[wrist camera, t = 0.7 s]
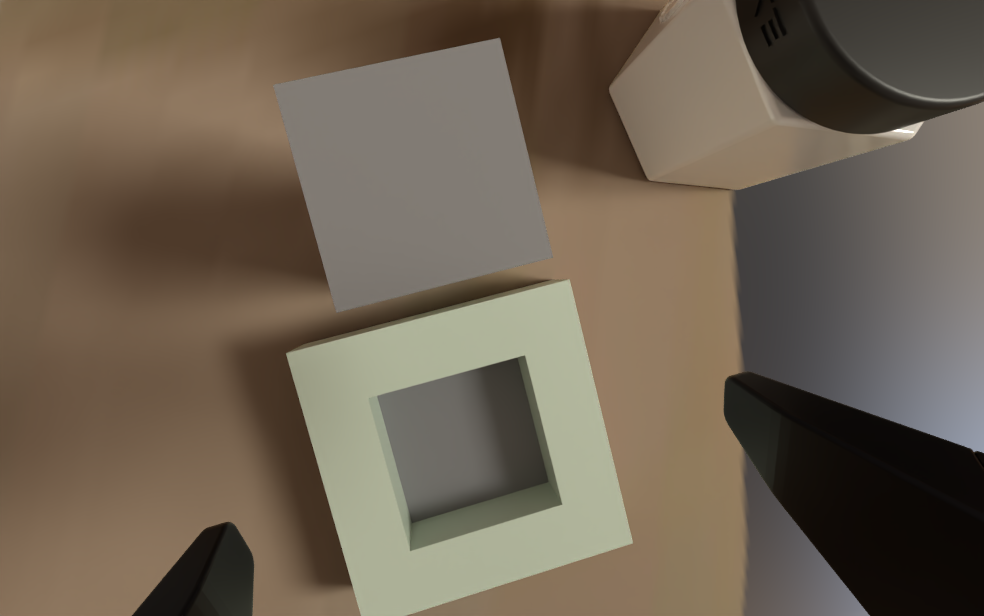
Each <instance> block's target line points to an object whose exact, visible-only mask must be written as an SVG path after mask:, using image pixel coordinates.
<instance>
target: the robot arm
mask: <svg viewBox="0 0 984 616" xmlns="http://www.w3.org/2000/svg"><path fill="white" fill-rule="evenodd" d="M724 416H725V419H726V421H727V423H728V425H729V427H730V428H731V430H732V431H733V433H734V434H735V436H736V438H737V439H738V441H739V442H740V444H741V445H742V447H743V448H744V450H745V452H746V453H747V455H748V456H749V458H750V459H751V461H752V462H753V464H754V466H755V467H756V469H757V470H758V472H759V473H760V475H761V477H762V478H763V480H764V481H765V483H766V484H767V486H768V487H769V488H770V490H771V492H772V493H773V494H774V496H775V497H776V498H777V499H778V501H779V502H780V503H781V504H782V506H783V507H784V509H785V510H786V511H787V512H788V514H789V515H790V516H791V517H792V519H793V520H794V521H795V522H796V523H797V525H798V526H799V527H800V529H801V530H802V531H803V532H804V534H805V535H806V536H807V537H808V539H809V540H810V541H811V542H812V544H813V545H814V546H815V547H816V549H817V550H818V551H819V552H820V554H821V555H822V556H823V557H824V559H825V560H826V561H827V562H828V564H829V565H830V566H831V567H832V569H833V570H834V571H835V572H836V574H837V575H838V576H839V577H840V579H841V580H842V581H843V582H844V584H845V585H846V586H847V587H848V588H849V590H850V591H851V592H852V594H853V595H854V596H855V598H856V599H857V600H858V601H859V603H860V604H861V605H862V606H863V608H864V609H865V610H866V611H867V612H868V614H869V615H870V616H984V453H982V452H979V451H976V452H973V450H972V449H970V448H967V447H964V446H961V445H958V444H955V443H953V442H950V441H947V440H944V439H941V438H939V437H936V436H933V435H930V434H927V433H924V432H921V431H919V430H916V429H913V428H910V427H907V426H904V425H901V424H898V423H896V422H893V421H890V420H887V419H884V418H881V417H879V416H876V415H873V414H870V413H867V412H864V411H861V410H858V409H856V408H853V407H850V406H847V405H844V404H841V403H838V402H836V401H833V400H829V399H827V398H824V397H821V396H818V395H815V394H813V393H810V392H807V391H804V390H801V389H798V388H795V387H793V386H789V385H787V384H784V383H781V382H778V381H775V380H773V379H770V378H767V377H764V376H761V375H758V374H755V373H752V372H742V373H739V374H735V375H732V376H729V377H728V378H727V379H726V381H725V389H724ZM253 581H254V560H253V556H252V553H251V551H250V549H249V547H248V546H247V544H246V542H245V541H244V539H243V537H242V536H241V534H240V532H239V531H238V529H237V528H236V526H235V525H234V524H233V523H231V522H225V523H221V524H218V525H215V526H211V527H208V528H206V529H205V530H203V531H202V532H201V533H200V535H199V536H198V537H197V538H196V539H195V541H194V542H193V543H192V544H191V545H190V547H189V548H188V549H187V550H186V551H185V553H184V554H183V555H182V556H181V557H180V559H179V560H178V561H177V562H176V563H175V565H174V566H173V567H172V568H171V569H170V571H169V572H168V573H167V574H166V575H165V577H164V578H163V579H162V580H161V581H160V583H159V584H158V585H157V586H156V587H155V589H154V590H153V591H152V592H151V593H150V595H149V596H148V597H147V598H146V599H145V601H144V602H143V603H142V604H141V605H140V607H139V608H138V609H137V610H136V611H135V613H134V614H133V615H132V616H252V611H253Z"/></svg>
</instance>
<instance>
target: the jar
mask: <svg viewBox="0 0 984 616" xmlns="http://www.w3.org/2000/svg"><path fill="white" fill-rule="evenodd" d="M609 93H610V95H611V97H612V100H613V102H614V104H615V106H616V109H617V111H618V113H619V116H620V118H621V120H622V122H623V125H624V127H625V129H626V131H627V134H628V136H629V138H630V141H631V143H632V145H633V147H634V150H635V152H636V154H637V157H638V159H639V161H640V163H641V166H642V168H643V170H644V173H645V175H646V177H647V179H648V180H650V181H656V182H666V183H676V184H686V185H695V186H705V187H715V188H724V189H734V190H739V189H743V188H746V187H749V186H753V185H756V184H760V183H763V182H767V181H770V180H773V179H776V178H780V177H784V176H787V175H790V174H794V173H797V172H800V171H804V170H808V169H811V168H814V167H818V166H821V165H825V164H828V163H831V162H835V161H838V160H842V159H845V158H849V157H852V156H855V155H858V154H862V153H865V152H869V151H873V150H876V149H879V148H883V147H886V146H890V145H893V144H897V143H900V142H903V141H907V140H909V139H911V138H912V137H914V135H915V134H916V133H917V131H918V130H919V128H920V127H921V125H922V123H923V122H924V121H926V120H929V119H932V118H935V117H938V116H941V115H944V114H948V113H951V112H954V111H957V110H960V109H963V108H966V107H969V106H972V105H976V104H979V103H981V102H983V101H984V0H669V1H668V2H667V4H666V5H665V6H664V7H663V8H662V9H661V11H660V12H659V14H658V15H657V17H656V18H655V20H654V21H653V23H652V24H651V26H650V27H649V29H648V30H647V32H646V33H645V35H644V36H643V37H642V39H641V40H640V42H639V43H638V45H637V46H636V48H635V49H634V51H633V52H632V54H631V55H630V57H629V58H628V60H627V61H626V63H625V64H624V66H623V67H622V69H621V70H620V72H619V73H618V74H617V76H616V77H615V79H614V80H613V82H612V83H611V85H610V87H609Z"/></svg>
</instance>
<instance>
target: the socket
mask: <svg viewBox="0 0 984 616" xmlns="http://www.w3.org/2000/svg"><path fill="white" fill-rule="evenodd" d="M286 355H287V359H288V362H289V366H290V369H291V373H292V376H293V380H294V383H295V387H296V390H297V394H298V397H299V401H300V404H301V408H302V411H303V415H304V418H305V421H306V425H307V428H308V432H309V435H310V439H311V442H312V446H313V449H314V453H315V456H316V460H317V463H318V467H319V470H320V474H321V477H322V481H323V484H324V488H325V491H326V495H327V498H328V502H329V505H330V509H331V512H332V516H333V519H334V523H335V526H336V530H337V533H338V537H339V540H340V544H341V547H342V551H343V554H344V558H345V561H346V565H347V568H348V571H349V575H350V578H351V582H352V585H353V589H354V592H355V596H356V599H357V603H358V606H359V610H360V613H361V616H406V615H409V614H412V613H415V612H419V611H422V610H425V609H428V608H431V607H434V606H437V605H441V604H444V603H447V602H450V601H453V600H456V599H459V598H463V597H466V596H469V595H472V594H475V593H478V592H481V591H484V590H488V589H491V588H494V587H497V586H500V585H503V584H506V583H510V582H513V581H516V580H519V579H522V578H525V577H528V576H531V575H535V574H538V573H541V572H544V571H547V570H550V569H553V568H557V567H560V566H563V565H566V564H569V563H572V562H575V561H579V560H582V559H585V558H588V557H591V556H594V555H597V554H600V553H604V552H607V551H610V550H613V549H616V548H619V547H622V546H626V545H629V544H632V543H633V541H632V537H631V533H630V529H629V525H628V520H627V516H626V512H625V508H624V504H623V500H622V496H621V491H620V487H619V483H618V479H617V475H616V471H615V466H614V462H613V458H612V454H611V450H610V446H609V441H608V437H607V433H606V429H605V425H604V421H603V417H602V412H601V408H600V404H599V400H598V396H597V392H596V387H595V383H594V379H593V375H592V371H591V367H590V363H589V358H588V354H587V350H586V346H585V342H584V338H583V333H582V329H581V325H580V321H579V317H578V313H577V309H576V304H575V300H574V296H573V292H572V288H571V284H570V279H566V280H549V281H545V282H541V283H537V284H533V285H530V286H526V287H522V288H518V289H514V290H510V291H507V292H503V293H499V294H495V295H491V296H487V297H483V298H480V299H476V300H472V301H468V302H464V303H460V304H456V305H453V306H449V307H445V308H441V309H437V310H433V311H430V312H426V313H422V314H418V315H414V316H410V317H406V318H403V319H399V320H395V321H391V322H387V323H383V324H379V325H376V326H372V327H368V328H364V329H360V330H356V331H353V332H349V333H345V334H341V335H337V336H333V337H329V338H326V339H322V340H318V341H314V342H310V343H306V344H303V345H301V346H299V347H297V348H295V349H293V350H291V351H290V352H288V353H286Z"/></svg>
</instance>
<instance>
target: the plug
mask: <svg viewBox="0 0 984 616" xmlns="http://www.w3.org/2000/svg"><path fill="white" fill-rule="evenodd" d="M273 86H274V89H275V93H276V97H277V100H278V104H279V107H280V111H281V115H282V118H283V122H284V125H285V129H286V133H287V136H288V140H289V144H290V147H291V151H292V154H293V158H294V162H295V165H296V169H297V172H298V176H299V180H300V183H301V187H302V190H303V194H304V198H305V201H306V205H307V208H308V212H309V216H310V219H311V223H312V226H313V230H314V234H315V237H316V241H317V244H318V248H319V252H320V255H321V259H322V263H323V266H324V270H325V273H326V277H327V281H328V284H329V288H330V291H331V295H332V299H333V302H334V306H335V309H336V313H338V312H341V311H345V310H349V309H353V308H357V307H361V306H365V305H369V304H373V303H377V302H381V301H385V300H388V299H392V298H396V297H400V296H404V295H408V294H412V293H416V292H420V291H424V290H428V289H432V288H435V287H439V286H443V285H447V284H451V283H455V282H459V281H463V280H467V279H471V278H475V277H479V276H483V275H486V274H490V273H494V272H498V271H502V270H506V269H510V268H514V267H518V266H522V265H526V264H530V263H533V262H537V261H541V260H545V259H549V258H553V255H552V251H551V247H550V243H549V238H548V234H547V230H546V226H545V222H544V218H543V214H542V210H541V205H540V201H539V197H538V193H537V189H536V185H535V181H534V177H533V172H532V168H531V164H530V160H529V156H528V152H527V148H526V144H525V139H524V135H523V131H522V127H521V123H520V119H519V115H518V110H517V106H516V102H515V98H514V94H513V90H512V86H511V82H510V77H509V73H508V69H507V65H506V61H505V57H504V53H503V49H502V44H501V40H500V38H496V39H492V40H487V41H482V42H477V43H472V44H468V45H463V46H458V47H453V48H448V49H444V50H439V51H434V52H429V53H424V54H420V55H415V56H410V57H405V58H400V59H395V60H391V61H386V62H381V63H376V64H371V65H367V66H362V67H357V68H352V69H347V70H343V71H338V72H333V73H328V74H323V75H319V76H314V77H309V78H304V79H299V80H294V81H290V82H285V83H280V84H275V85H273Z"/></svg>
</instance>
